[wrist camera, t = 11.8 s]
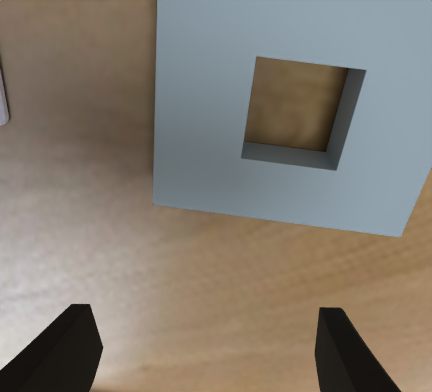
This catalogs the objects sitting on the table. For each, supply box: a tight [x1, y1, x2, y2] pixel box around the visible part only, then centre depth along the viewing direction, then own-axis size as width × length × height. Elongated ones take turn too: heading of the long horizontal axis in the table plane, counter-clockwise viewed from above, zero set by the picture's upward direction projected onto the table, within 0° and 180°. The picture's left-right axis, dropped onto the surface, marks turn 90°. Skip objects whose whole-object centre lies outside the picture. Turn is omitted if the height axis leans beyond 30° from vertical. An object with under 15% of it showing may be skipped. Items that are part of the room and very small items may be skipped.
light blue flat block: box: [153, 0, 432, 237], centre depth 17 cm, size 13×11×2 cm
